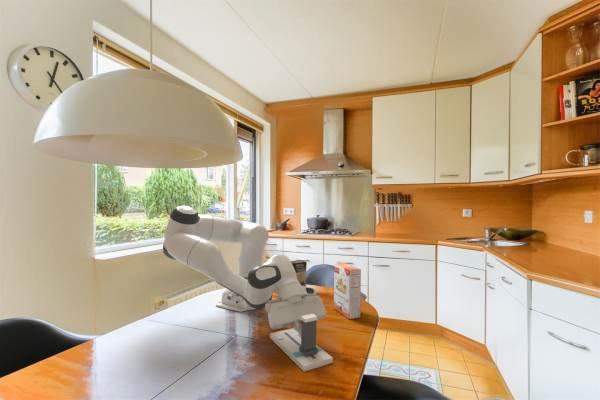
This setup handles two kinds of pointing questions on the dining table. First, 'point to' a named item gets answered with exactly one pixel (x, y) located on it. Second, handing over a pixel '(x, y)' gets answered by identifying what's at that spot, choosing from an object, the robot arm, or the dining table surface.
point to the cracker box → (347, 290)
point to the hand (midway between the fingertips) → (305, 336)
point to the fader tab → (308, 335)
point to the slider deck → (290, 345)
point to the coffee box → (300, 271)
